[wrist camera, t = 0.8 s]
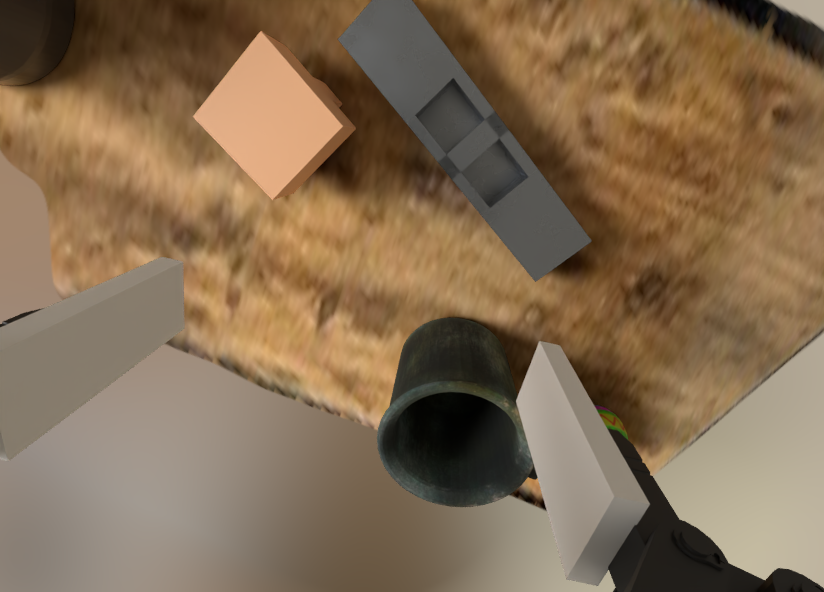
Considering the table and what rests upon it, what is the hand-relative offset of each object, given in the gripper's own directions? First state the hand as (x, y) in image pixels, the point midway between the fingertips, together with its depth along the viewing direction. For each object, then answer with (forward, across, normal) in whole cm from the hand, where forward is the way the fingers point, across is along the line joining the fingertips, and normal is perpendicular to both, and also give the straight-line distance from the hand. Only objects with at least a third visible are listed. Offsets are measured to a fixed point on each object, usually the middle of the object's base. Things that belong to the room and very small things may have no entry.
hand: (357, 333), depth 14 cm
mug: (+21, +9, -13) cm, 26 cm away
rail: (+21, +4, +7) cm, 22 cm away
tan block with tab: (+21, -10, +6) cm, 24 cm away
